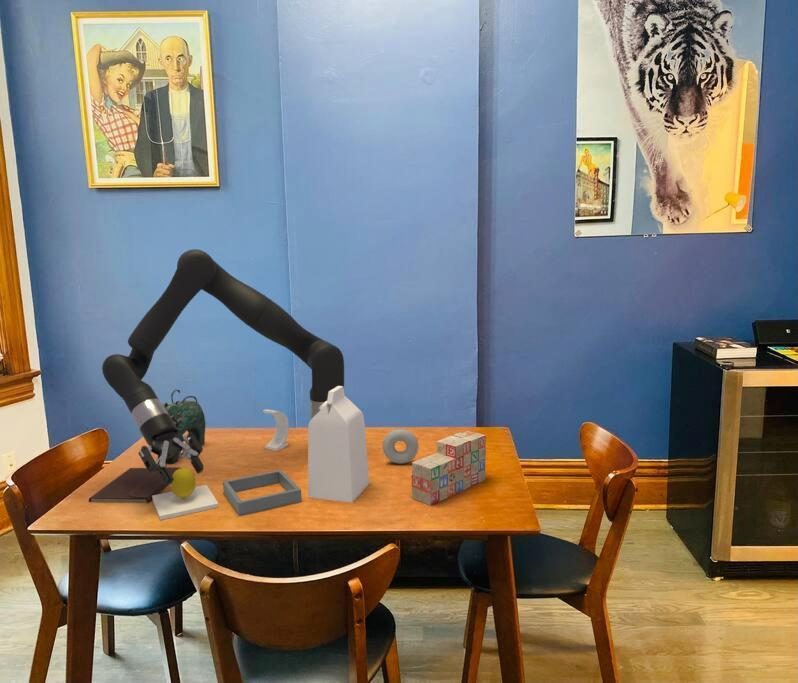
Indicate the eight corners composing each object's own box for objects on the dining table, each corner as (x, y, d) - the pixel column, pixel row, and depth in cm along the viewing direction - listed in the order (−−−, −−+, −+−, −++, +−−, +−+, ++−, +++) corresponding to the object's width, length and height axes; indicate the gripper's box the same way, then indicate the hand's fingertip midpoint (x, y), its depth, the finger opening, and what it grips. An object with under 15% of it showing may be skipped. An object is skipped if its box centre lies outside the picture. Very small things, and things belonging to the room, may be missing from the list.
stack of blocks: (430, 506, 143) (430, 456, 141) (411, 499, 147) (410, 450, 145) (485, 480, 158) (486, 434, 156) (466, 474, 162) (466, 429, 160)
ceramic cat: (172, 466, 171) (167, 397, 168) (152, 464, 172) (146, 396, 169) (210, 443, 190) (206, 380, 187) (192, 442, 192) (187, 380, 188)
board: (206, 488, 155) (206, 484, 155) (218, 507, 144) (218, 503, 144) (152, 499, 149) (151, 495, 149) (160, 520, 138) (159, 516, 138)
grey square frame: (281, 480, 159) (281, 469, 159) (301, 501, 146) (301, 489, 146) (223, 492, 152) (222, 481, 152) (239, 515, 139) (238, 503, 139)
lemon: (188, 504, 143) (187, 471, 142) (166, 502, 144) (165, 469, 143) (200, 495, 148) (199, 464, 147) (179, 494, 150) (178, 462, 149)
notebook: (88, 504, 148) (88, 496, 148) (129, 473, 168) (129, 466, 167) (148, 504, 147) (148, 497, 147) (183, 473, 167) (182, 467, 166)
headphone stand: (265, 448, 184) (262, 410, 182) (278, 442, 190) (276, 405, 188) (276, 451, 182) (274, 412, 180) (290, 445, 187) (288, 407, 185)
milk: (352, 502, 145) (349, 396, 141) (308, 497, 149) (303, 393, 144) (369, 483, 157) (366, 384, 152) (327, 479, 160) (324, 382, 156)
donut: (382, 465, 169) (381, 431, 167) (383, 461, 172) (382, 427, 170) (418, 465, 168) (418, 430, 167) (418, 461, 172) (418, 427, 170)
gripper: (131, 420, 142) (165, 478, 137) (185, 406, 153) (217, 459, 148) (121, 438, 146) (153, 495, 141) (174, 423, 157) (205, 475, 152)
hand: (186, 476), depth 144 cm, fingers open, 7 cm apart
